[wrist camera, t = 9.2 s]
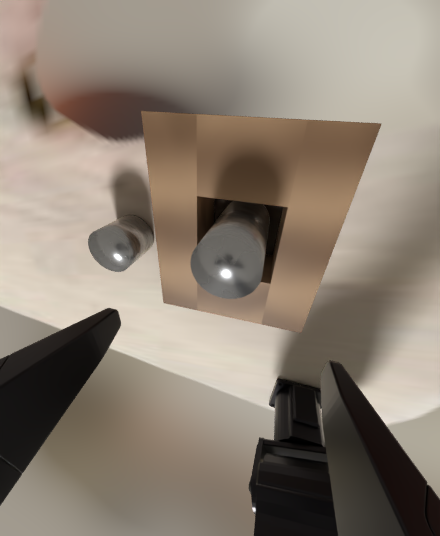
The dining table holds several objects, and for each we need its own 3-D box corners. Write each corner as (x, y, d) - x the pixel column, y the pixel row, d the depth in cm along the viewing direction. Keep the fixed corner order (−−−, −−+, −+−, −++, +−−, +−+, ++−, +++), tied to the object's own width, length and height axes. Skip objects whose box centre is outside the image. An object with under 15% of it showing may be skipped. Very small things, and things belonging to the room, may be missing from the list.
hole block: (297, 297, 21) (301, 332, 17) (182, 275, 23) (163, 302, 19) (353, 126, 13) (381, 123, 10) (175, 116, 15) (141, 111, 12)
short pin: (155, 254, 22) (133, 275, 19) (121, 248, 23) (95, 267, 20) (150, 218, 20) (125, 234, 17) (113, 212, 21) (82, 227, 18)
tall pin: (265, 245, 19) (256, 305, 12) (221, 238, 20) (190, 291, 13) (274, 200, 17) (268, 242, 10) (224, 194, 17) (189, 230, 11)
